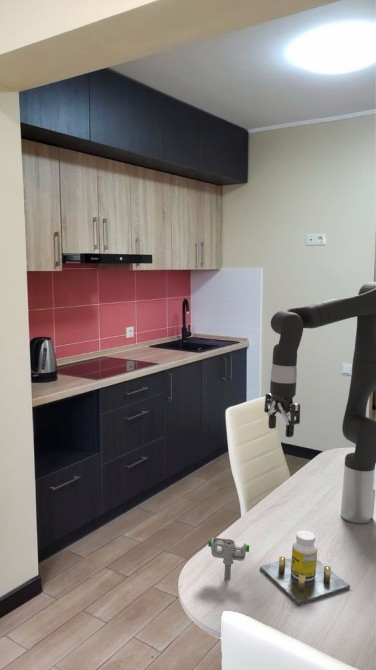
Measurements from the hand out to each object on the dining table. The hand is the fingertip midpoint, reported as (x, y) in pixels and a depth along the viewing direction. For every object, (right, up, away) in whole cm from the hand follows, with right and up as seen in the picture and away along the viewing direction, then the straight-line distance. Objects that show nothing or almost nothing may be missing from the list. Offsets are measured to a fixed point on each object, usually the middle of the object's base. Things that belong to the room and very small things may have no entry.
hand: (280, 432), depth 156 cm
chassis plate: (+2, -34, -22) cm, 40 cm away
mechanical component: (-18, -33, -23) cm, 44 cm away
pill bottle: (+2, -33, -22) cm, 39 cm away
